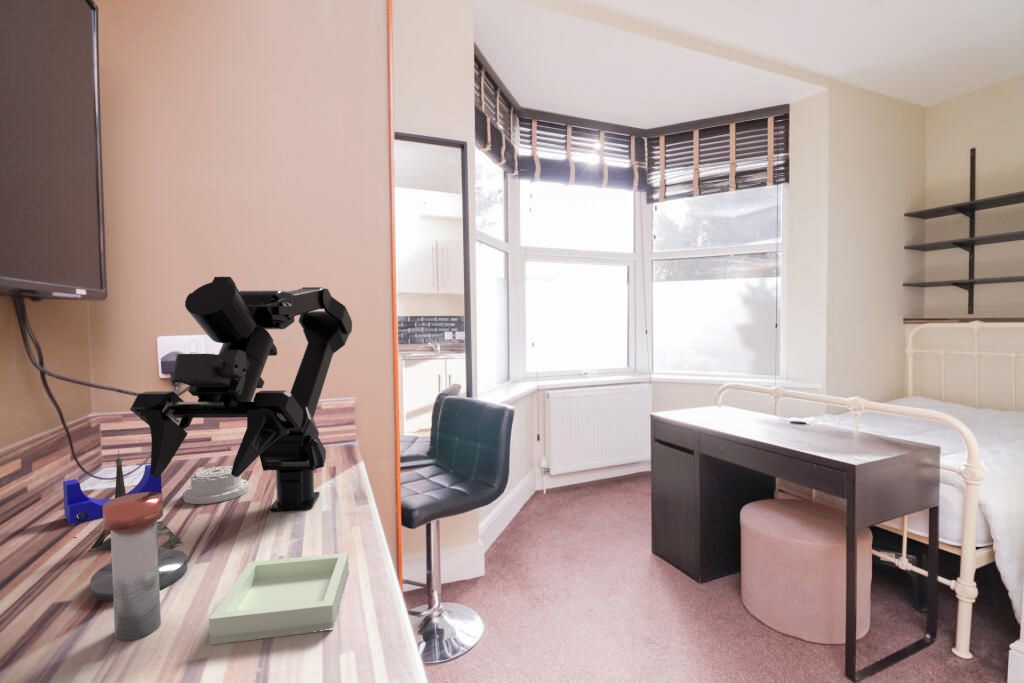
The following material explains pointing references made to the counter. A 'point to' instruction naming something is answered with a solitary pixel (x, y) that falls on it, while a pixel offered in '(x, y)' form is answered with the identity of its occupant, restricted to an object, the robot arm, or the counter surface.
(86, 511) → the blue cradle bracket
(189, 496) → the mechanical component
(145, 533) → the pin
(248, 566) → the tray
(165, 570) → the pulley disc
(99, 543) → the eiffel tower figurine
